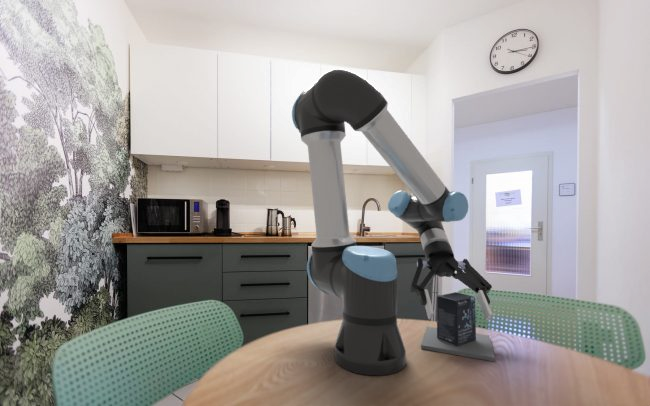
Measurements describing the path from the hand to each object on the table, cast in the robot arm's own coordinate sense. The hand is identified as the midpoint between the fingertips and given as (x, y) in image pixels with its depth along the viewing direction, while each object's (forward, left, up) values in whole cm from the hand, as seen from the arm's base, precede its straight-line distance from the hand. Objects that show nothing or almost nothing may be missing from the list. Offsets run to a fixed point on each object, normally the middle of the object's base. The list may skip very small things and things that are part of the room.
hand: (460, 317), depth 71 cm
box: (-1, +2, -6) cm, 7 cm away
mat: (-1, +2, -7) cm, 7 cm away
